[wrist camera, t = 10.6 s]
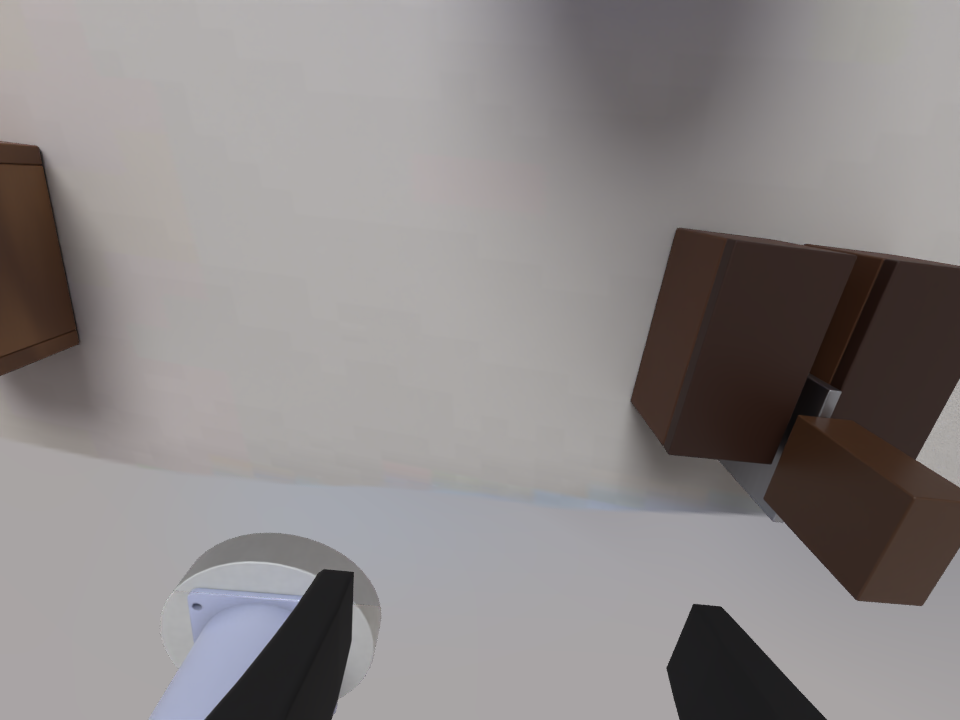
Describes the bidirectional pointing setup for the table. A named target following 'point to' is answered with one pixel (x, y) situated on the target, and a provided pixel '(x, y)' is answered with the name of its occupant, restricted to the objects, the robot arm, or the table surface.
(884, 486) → the brown and grey piece
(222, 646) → the robot arm
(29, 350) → the knife block
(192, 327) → the table surface
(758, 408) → the split wooden block
